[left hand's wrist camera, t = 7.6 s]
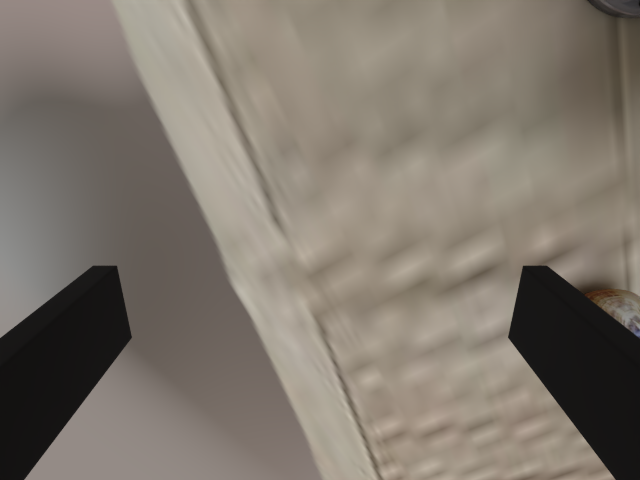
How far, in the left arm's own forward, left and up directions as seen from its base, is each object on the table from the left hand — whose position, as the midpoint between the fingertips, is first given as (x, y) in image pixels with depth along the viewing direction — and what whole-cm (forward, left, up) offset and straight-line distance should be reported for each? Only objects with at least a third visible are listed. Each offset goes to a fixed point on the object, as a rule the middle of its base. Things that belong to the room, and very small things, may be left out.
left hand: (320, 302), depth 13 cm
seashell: (-14, +37, -33) cm, 52 cm away
